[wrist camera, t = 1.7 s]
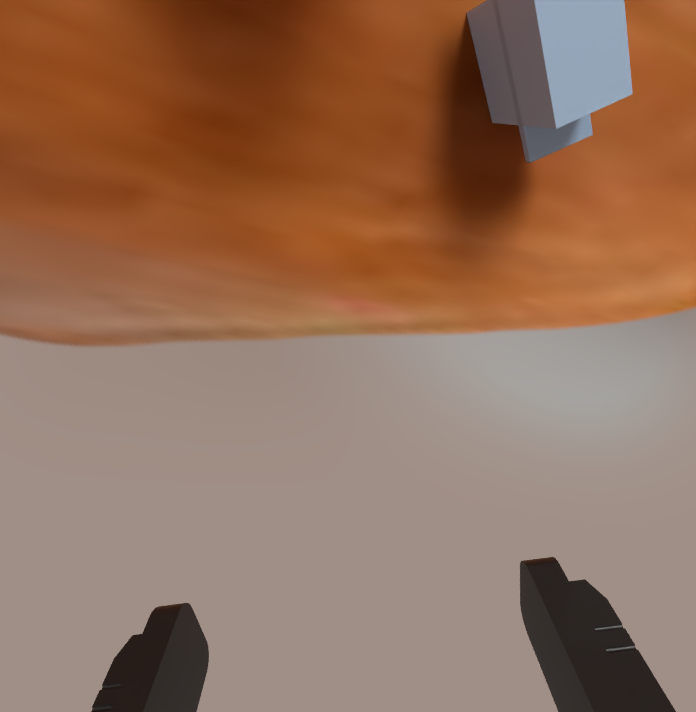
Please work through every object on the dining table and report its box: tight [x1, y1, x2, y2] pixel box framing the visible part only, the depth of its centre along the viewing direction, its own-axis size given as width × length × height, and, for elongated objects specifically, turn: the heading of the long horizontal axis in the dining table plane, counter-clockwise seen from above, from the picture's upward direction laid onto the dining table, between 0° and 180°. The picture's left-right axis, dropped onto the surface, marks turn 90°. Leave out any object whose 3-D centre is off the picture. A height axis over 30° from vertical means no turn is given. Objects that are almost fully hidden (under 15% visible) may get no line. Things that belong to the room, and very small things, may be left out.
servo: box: [466, 0, 632, 163], centre depth 23 cm, size 10×4×8 cm, turn 23°
